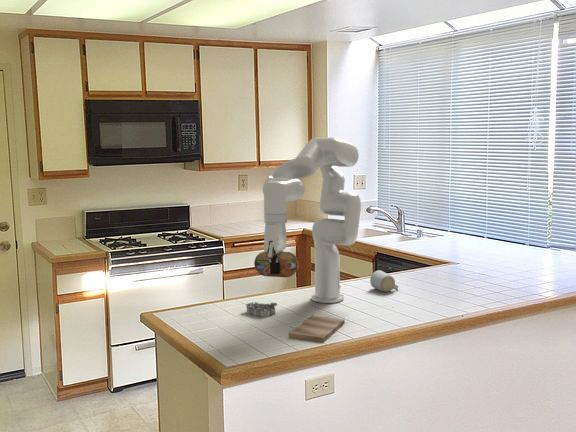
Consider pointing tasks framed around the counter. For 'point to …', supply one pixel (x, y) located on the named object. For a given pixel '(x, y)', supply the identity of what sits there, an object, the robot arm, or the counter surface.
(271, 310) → the egg carton
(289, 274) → the tin
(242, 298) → the counter surface
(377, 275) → the ceramic mug
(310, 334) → the walnut board
